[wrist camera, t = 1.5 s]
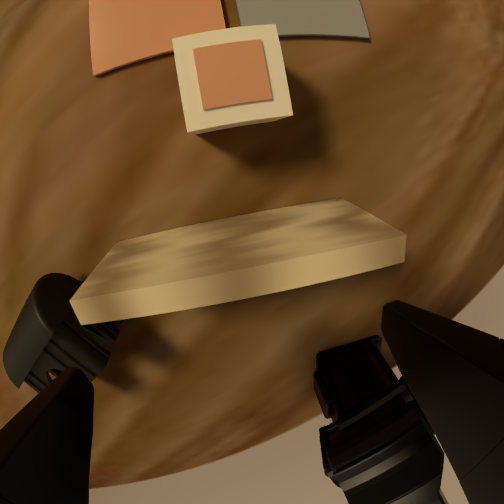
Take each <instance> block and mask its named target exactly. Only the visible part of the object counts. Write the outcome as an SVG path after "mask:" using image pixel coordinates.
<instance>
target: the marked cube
mask: <svg viewBox="0 0 504 504" xmlns="http://www.w3.org/2000/svg"><path fill="white" fill-rule="evenodd" d="M172 42H173V49H174V56H175V62H176V69H177V75H178V81H179V87H180V93H181V99H182V105H183V110H184V116H185V121H186V127H187V132H188V133H192V134H195V135H196V134H201V133H206V132H211V131H216V130H221V129H227V128H233V127H238V126H245V125H251V124H258V123H265V122H273V121H276V120H279V119H283V118H286V117H289V116H292V115H293V112H292V106H291V100H290V94H289V88H288V83H287V77H286V72H285V67H284V62H283V57H282V52H281V47H280V42H279V37H278V33H277V28H276V24H267V25H253V26H243V27H234V28H226V29H219V30H213V31H207V32H201V33H196V34H191V35H186V36H182V37H177V38H173V39H172Z"/></svg>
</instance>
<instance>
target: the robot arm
mask: <svg viewBox="0 0 504 504" xmlns="http://www.w3.org/2000/svg"><path fill="white" fill-rule="evenodd" d="M381 330H382V333H383V336H384V338H385V340H386V342H387V344H388V346H389V348H390V350H391V353H392V355H393V357H394V359H395V361H396V364H397V366H398V368H399V370H400V372H401V374H402V377H401V378H400V379H399V380H398V378H397V377H396V375H395V374H394V372H393V371H392V369H391V368H390V366H389V365H388V363H387V362H386V360H385V359H384V357H383V356H382V354H381V353H380V345H381V338H380V337H379V336H378V335H375V336H372V337H369V338H366V339H363V340H359V341H356V342H353V343H350V344H346V345H343V346H339V347H336V348H332V349H328V350H325V351H321V352H319V353H318V354H317V355H316V365H317V371H315V372H314V390H315V393H316V396H317V398H318V401H319V404H320V406H321V409H322V412H323V414H324V417H325V418H327V419H328V418H332V421H333V422H332V423H331V424H329V425H327V426H324V427H321V428H320V429H319V432H320V443H321V444H320V445H321V452H322V460H323V468H324V470H325V471H324V472H325V475H326V476H327V477H330V479H331V480H332V481H333V483H334V484H335V485H337V486H338V487H340V488H342V490H343V492H344V494H345V496H346V498H347V501H348V503H349V504H448V502H447V500H446V498H445V496H444V494H443V493H442V491H441V489H440V486H441V479H442V472H443V463H444V452H445V453H446V455H447V457H448V459H449V461H450V463H451V465H452V467H453V469H454V471H455V473H456V476H457V478H458V480H460V481H459V482H460V484H461V486H462V489H463V491H464V493H465V495H466V497H467V500H468V502H469V504H504V339H499V338H498V337H496V336H493V335H490V334H488V333H485V332H483V331H480V330H477V329H474V328H472V327H469V326H467V325H464V324H461V323H459V322H456V321H453V320H450V319H448V318H445V317H442V316H440V315H437V314H434V313H432V312H429V311H426V310H424V309H421V308H418V307H416V306H413V305H410V304H407V303H405V302H402V301H399V300H394V301H391V302H388V303H385V304H384V306H383V312H382V322H381ZM322 356H323V357H322ZM93 408H94V387H93V385H92V383H91V382H90V380H89V379H88V378H87V376H86V375H85V373H84V372H83V371H82V369H81V368H79V367H68V368H66V369H65V370H64V371H63V372H62V373H61V374H60V375H58V376H57V377H56V378H55V379H54V380H53V381H52V382H51V383H50V384H49V385H47V386H46V387H45V388H44V389H43V390H42V391H41V392H40V393H39V394H38V395H37V396H35V397H34V398H33V399H32V400H31V401H30V402H29V403H28V404H27V405H26V406H25V407H24V408H23V409H22V410H21V411H19V412H18V413H17V414H16V415H15V416H14V417H13V418H12V419H11V420H10V421H9V422H8V423H7V424H6V425H5V426H4V427H3V428H2V429H1V430H0V504H89V476H90V460H91V447H92V437H93ZM435 434H436V436H437V438H438V440H439V442H440V444H441V446H442V448H443V450H444V452H443V450H442V448H441V447H440V445H439V443H438V441H437V440H436V438H435V436H434V435H435Z"/></svg>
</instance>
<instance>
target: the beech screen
mask: <svg viewBox="0 0 504 504" xmlns="http://www.w3.org/2000/svg"><path fill="white" fill-rule="evenodd" d="M405 249H406V234H404V233H402V232H401V231H399V230H397V229H396V228H394V227H392V226H391V225H389V224H387V223H385V222H384V221H382V220H380V219H378V218H377V217H375V216H373V215H371V214H370V213H368V212H366V211H364V210H362V209H361V208H359V207H357V206H355V205H353V204H352V203H350V202H348V201H346V200H344V199H342V198H337V199H331V200H325V201H319V202H313V203H307V204H301V205H295V206H289V207H283V208H278V209H272V210H267V211H261V212H256V213H250V214H245V215H240V216H235V217H230V218H225V219H219V220H215V221H210V222H205V223H200V224H195V225H190V226H185V227H181V228H176V229H171V230H167V231H162V232H158V233H153V234H149V235H144V236H140V237H136V238H131V239H127V240H123V241H119V242H117V243H116V244H115V245H114V246H113V247H112V249H111V250H110V251H109V252H108V253H107V254H106V256H105V257H104V258H103V259H102V260H101V262H100V263H99V264H98V265H97V266H96V268H95V269H94V270H93V271H92V272H91V274H90V275H89V276H88V277H87V279H86V280H85V281H84V282H83V284H82V285H81V286H80V288H79V289H78V290H77V291H76V293H75V294H74V295H73V297H72V298H71V299H70V303H71V305H72V308H73V310H74V312H75V314H76V316H77V318H78V320H79V322H80V324H81V325H86V324H94V323H101V322H109V321H116V320H123V319H130V318H137V317H143V316H150V315H156V314H162V313H168V312H175V311H180V310H186V309H192V308H198V307H203V306H209V305H214V304H220V303H225V302H231V301H236V300H241V299H246V298H251V297H256V296H261V295H266V294H271V293H276V292H280V291H285V290H290V289H294V288H299V287H303V286H308V285H312V284H317V283H321V282H326V281H330V280H334V279H338V278H343V277H347V276H351V275H355V274H359V273H363V272H367V271H371V270H375V269H379V268H383V267H387V266H391V265H395V264H398V263H402V262H405Z"/></svg>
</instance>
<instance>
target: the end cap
mask: <svg viewBox="0 0 504 504" xmlns="http://www.w3.org/2000/svg"><path fill="white" fill-rule="evenodd" d="M82 284H83V283H82V282H80V281H78V280H77V279H75V278H73V277H71V276H69V275H65V274H62V273H50V274H47V275H44V276H43V277H41V278H40V279H39V280H38V281H37V283H36V284H35V286H34V287H33V289H32V291H31V293H30V295H29V297H28V299H27V301H26V303H25V304H24V306H23V308H22V310H21V312H20V315H19V317H18V319H17V321H16V323H15V325H14V327H13V329H12V332H11V334H10V336H9V339H8V341H7V343H6V346H5V348H4V352H3V362H4V367H5V370H6V373H7V375H8V376H9V378H10V380H11V381H12V382H13V384H14V385H15V386H16V387H17V388H18V389H19V388H20V386H21V384H22V383H23V381H24V382H26V383H27V384H28V385H29V386H30V387H32V388H33V389H34V390H35V391H37V392H38V393H40V392H41V391H42V390H43V389H44V388H45V387H46V386H47V385H49V384H50V383H51V382H52V381H53V380H52V379H51V377H50V375H49V372H51V373H52V374H53V375H54V376H56V377H57V376H58V375H60V374H61V373H62V372H63V371H64V370H65V369H66V368H68V367H79V368H81V369H82V371H83V372H84V373H85V375H86V376H87V378H88V379H89V380H90V382H92V381H93V380H94V379H95V378H96V377H97V376H98V375H99V374H100V373H101V372H102V371H103V369H104V368H105V366H106V364H107V361H108V359H109V356H110V354H111V353H110V352H109V351H108V350H106V349H105V348H104V346H105V345H106V344H107V343H108V342H111V343H112V344H113V343H114V342H115V341H116V339H117V336H118V334H119V331H120V330H119V329H118V327H119V326H120V324H121V322H122V320H116V321H109V322H101V323H94V324H86V325H81V324H80V322H79V320H78V318H77V316H76V314H75V312H74V310H73V308H72V305H71V303H70V299H71V298H72V297H73V295H74V294H75V293H76V291H77V290H78V289H79V288H80V286H81V285H82ZM48 371H49V372H48Z"/></svg>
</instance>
